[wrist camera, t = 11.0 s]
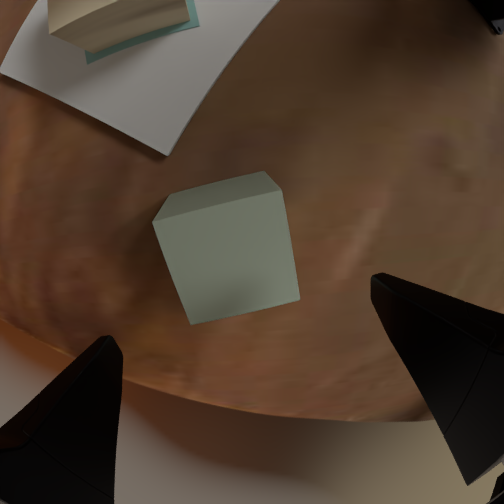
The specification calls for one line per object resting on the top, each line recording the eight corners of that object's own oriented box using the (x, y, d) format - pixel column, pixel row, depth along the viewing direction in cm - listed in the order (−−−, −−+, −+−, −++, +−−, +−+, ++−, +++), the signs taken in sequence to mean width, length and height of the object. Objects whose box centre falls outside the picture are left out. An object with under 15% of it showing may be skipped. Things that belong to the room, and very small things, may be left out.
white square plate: (124, -87, 7) (121, -93, 6) (304, -26, 11) (308, -32, 10) (5, 72, 11) (-3, 71, 10) (169, 154, 15) (167, 156, 14)
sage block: (169, 193, 16) (152, 222, 12) (263, 170, 16) (281, 190, 12) (196, 275, 19) (190, 325, 14) (280, 255, 19) (300, 299, 14)
